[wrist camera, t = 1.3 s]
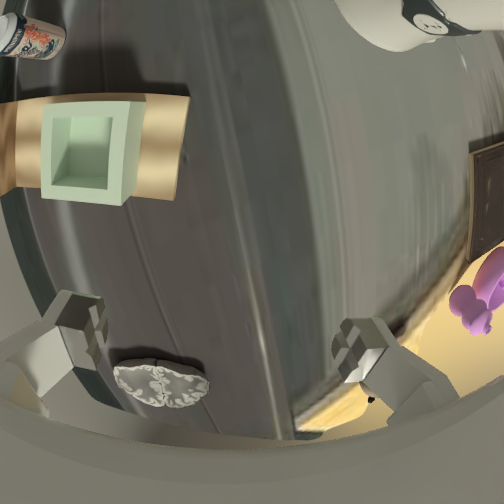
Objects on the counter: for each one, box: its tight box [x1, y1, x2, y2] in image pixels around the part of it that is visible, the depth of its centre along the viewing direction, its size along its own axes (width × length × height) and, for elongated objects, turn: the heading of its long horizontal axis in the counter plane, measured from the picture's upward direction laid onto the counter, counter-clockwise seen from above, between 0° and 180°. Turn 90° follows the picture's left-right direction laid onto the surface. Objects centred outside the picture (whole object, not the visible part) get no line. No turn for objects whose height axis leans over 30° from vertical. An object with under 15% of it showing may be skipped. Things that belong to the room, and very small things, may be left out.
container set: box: [449, 247, 504, 336], centre depth 42 cm, size 25×15×13 cm, turn 108°
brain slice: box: [113, 358, 210, 408], centre depth 48 cm, size 20×17×3 cm
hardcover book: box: [466, 142, 504, 264], centre depth 36 cm, size 16×23×2 cm
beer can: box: [0, 13, 66, 60], centre depth 13 cm, size 5×5×12 cm
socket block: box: [41, 101, 146, 206], centre depth 23 cm, size 10×10×6 cm
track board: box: [0, 93, 191, 201], centre depth 22 cm, size 12×26×8 cm, turn 78°
